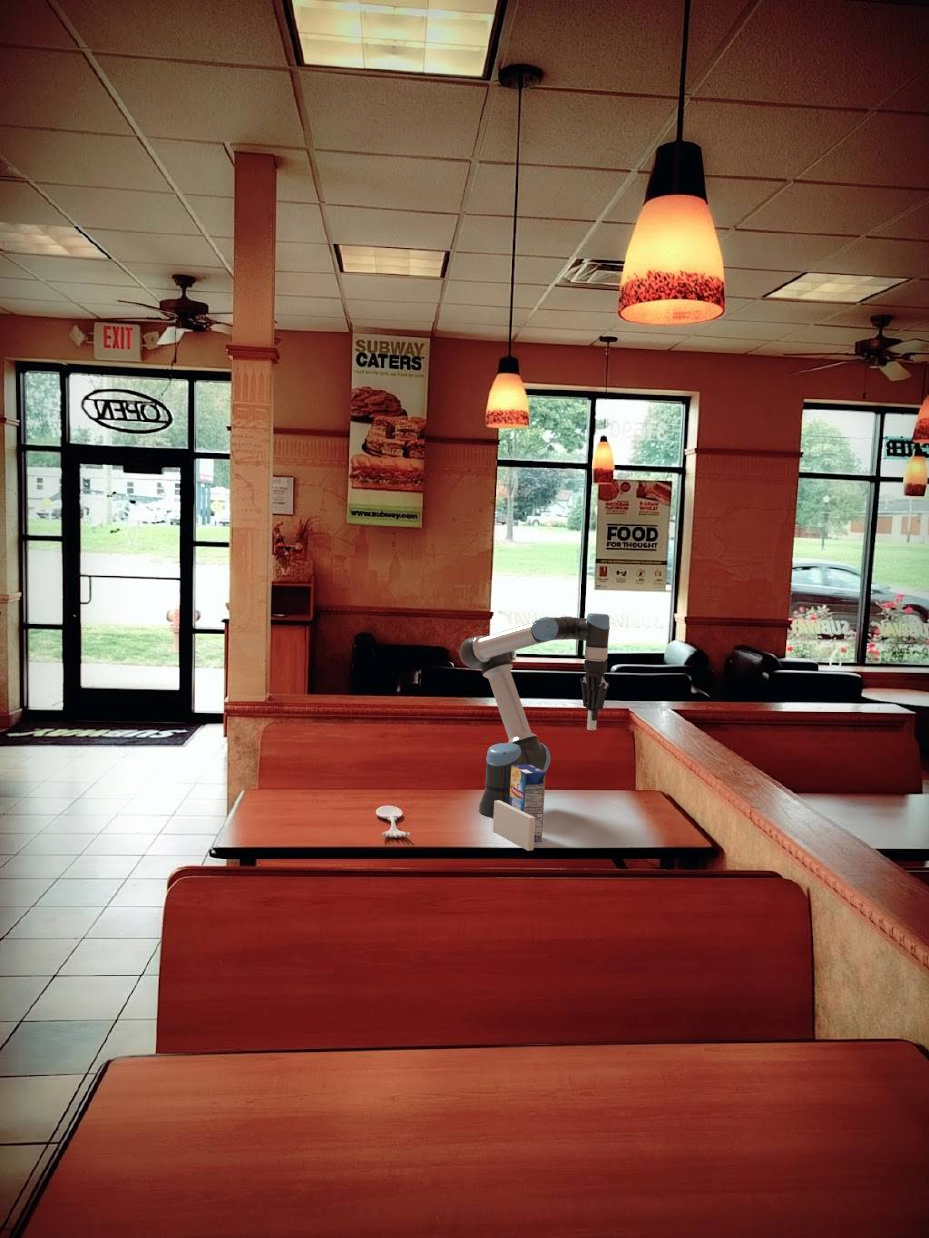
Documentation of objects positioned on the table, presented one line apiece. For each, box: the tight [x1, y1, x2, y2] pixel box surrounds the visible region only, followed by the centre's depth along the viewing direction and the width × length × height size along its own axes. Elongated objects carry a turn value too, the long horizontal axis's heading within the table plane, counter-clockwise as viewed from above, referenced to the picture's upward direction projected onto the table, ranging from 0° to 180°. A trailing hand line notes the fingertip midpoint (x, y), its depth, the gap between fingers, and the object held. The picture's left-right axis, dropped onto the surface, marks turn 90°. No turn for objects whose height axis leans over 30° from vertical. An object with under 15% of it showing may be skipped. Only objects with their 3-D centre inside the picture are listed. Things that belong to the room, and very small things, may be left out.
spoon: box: [375, 805, 411, 838], centre depth 269 cm, size 9×32×4 cm, turn 10°
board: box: [492, 800, 535, 852], centre depth 261 cm, size 20×2×10 cm, turn 30°
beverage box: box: [509, 764, 547, 843], centre depth 265 cm, size 7×11×22 cm, turn 21°
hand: (591, 729), depth 280 cm, fingers closed
